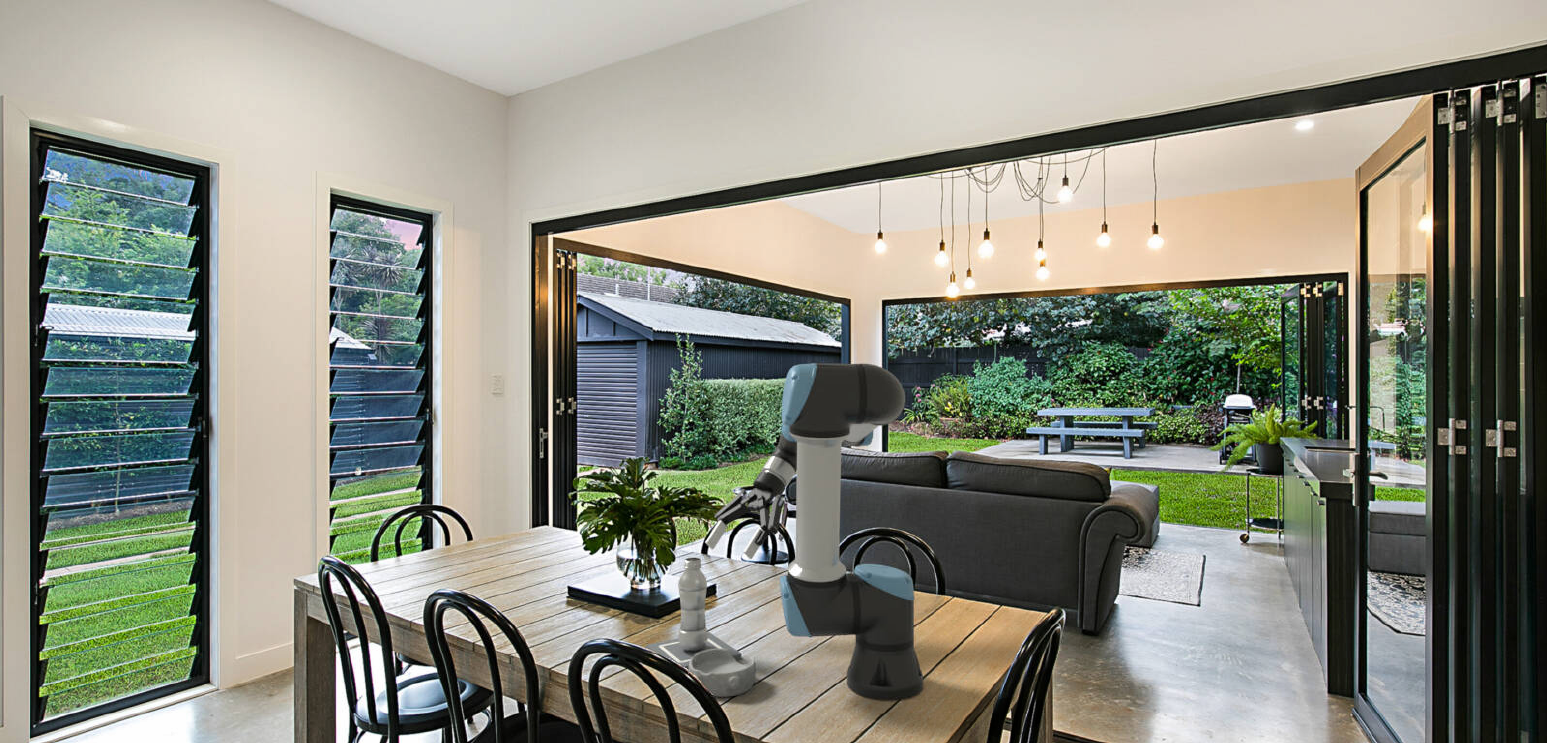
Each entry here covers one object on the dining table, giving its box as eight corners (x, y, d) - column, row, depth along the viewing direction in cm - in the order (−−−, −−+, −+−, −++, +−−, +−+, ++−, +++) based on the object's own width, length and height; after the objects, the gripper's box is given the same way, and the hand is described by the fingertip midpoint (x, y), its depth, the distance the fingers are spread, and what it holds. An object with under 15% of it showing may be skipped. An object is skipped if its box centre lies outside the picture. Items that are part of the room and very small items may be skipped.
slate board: (741, 659, 161) (741, 653, 161) (673, 674, 153) (673, 668, 153) (709, 637, 175) (709, 632, 175) (645, 650, 166) (645, 644, 166)
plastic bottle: (713, 647, 165) (713, 558, 165) (694, 657, 159) (694, 564, 159) (691, 642, 168) (691, 554, 168) (672, 651, 162) (671, 560, 163)
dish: (707, 667, 157) (707, 644, 157) (767, 677, 151) (766, 653, 152) (672, 694, 143) (672, 669, 143) (736, 706, 138) (736, 679, 138)
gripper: (818, 494, 174) (773, 569, 164) (747, 484, 192) (702, 551, 182) (802, 474, 171) (755, 549, 160) (732, 465, 189) (685, 533, 178)
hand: (727, 550), depth 171 cm, fingers open, 13 cm apart
